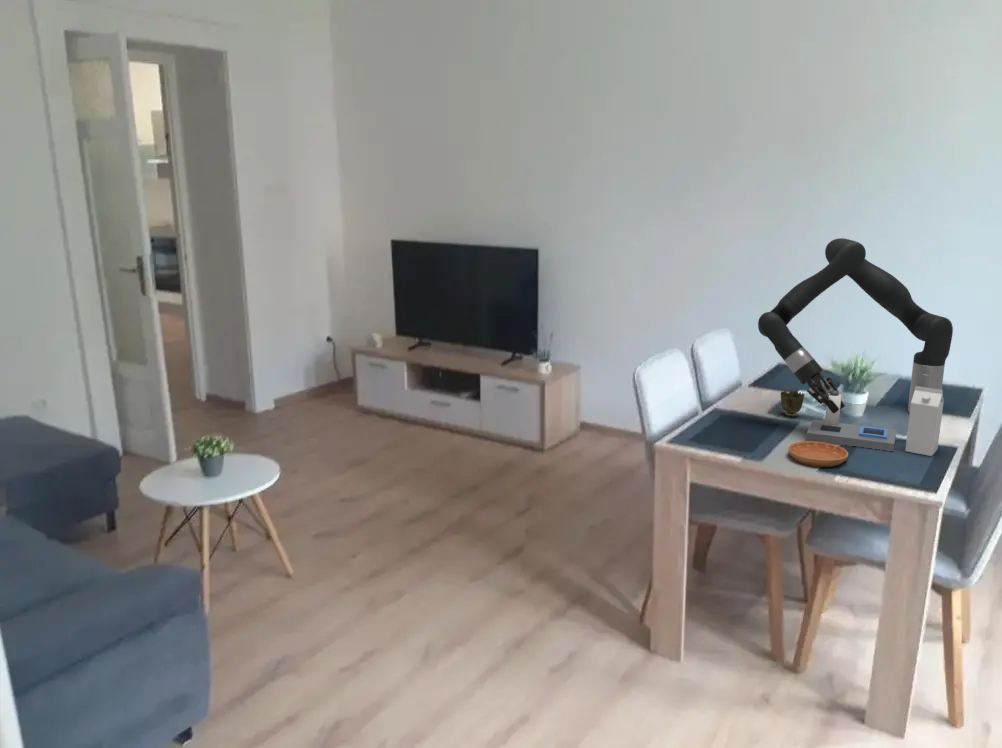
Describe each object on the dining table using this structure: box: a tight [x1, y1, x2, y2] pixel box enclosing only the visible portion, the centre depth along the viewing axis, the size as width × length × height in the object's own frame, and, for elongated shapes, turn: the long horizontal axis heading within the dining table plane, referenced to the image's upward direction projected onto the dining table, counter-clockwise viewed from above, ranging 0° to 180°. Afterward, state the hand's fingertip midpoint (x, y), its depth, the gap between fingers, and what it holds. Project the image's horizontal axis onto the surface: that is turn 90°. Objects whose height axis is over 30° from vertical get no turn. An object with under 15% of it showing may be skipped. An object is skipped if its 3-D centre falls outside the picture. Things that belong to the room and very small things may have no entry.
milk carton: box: [904, 386, 945, 457], centre depth 229 cm, size 7×7×19 cm
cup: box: [780, 389, 805, 418], centre depth 264 cm, size 8×7×8 cm
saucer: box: [787, 440, 849, 468], centre depth 226 cm, size 16×16×3 cm
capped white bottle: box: [824, 389, 842, 425], centre depth 242 cm, size 4×4×10 cm
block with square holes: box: [805, 419, 897, 452], centre depth 242 cm, size 14×24×3 cm, turn 62°
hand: (839, 409), depth 241 cm, fingers closed on capped white bottle, 4 cm apart
